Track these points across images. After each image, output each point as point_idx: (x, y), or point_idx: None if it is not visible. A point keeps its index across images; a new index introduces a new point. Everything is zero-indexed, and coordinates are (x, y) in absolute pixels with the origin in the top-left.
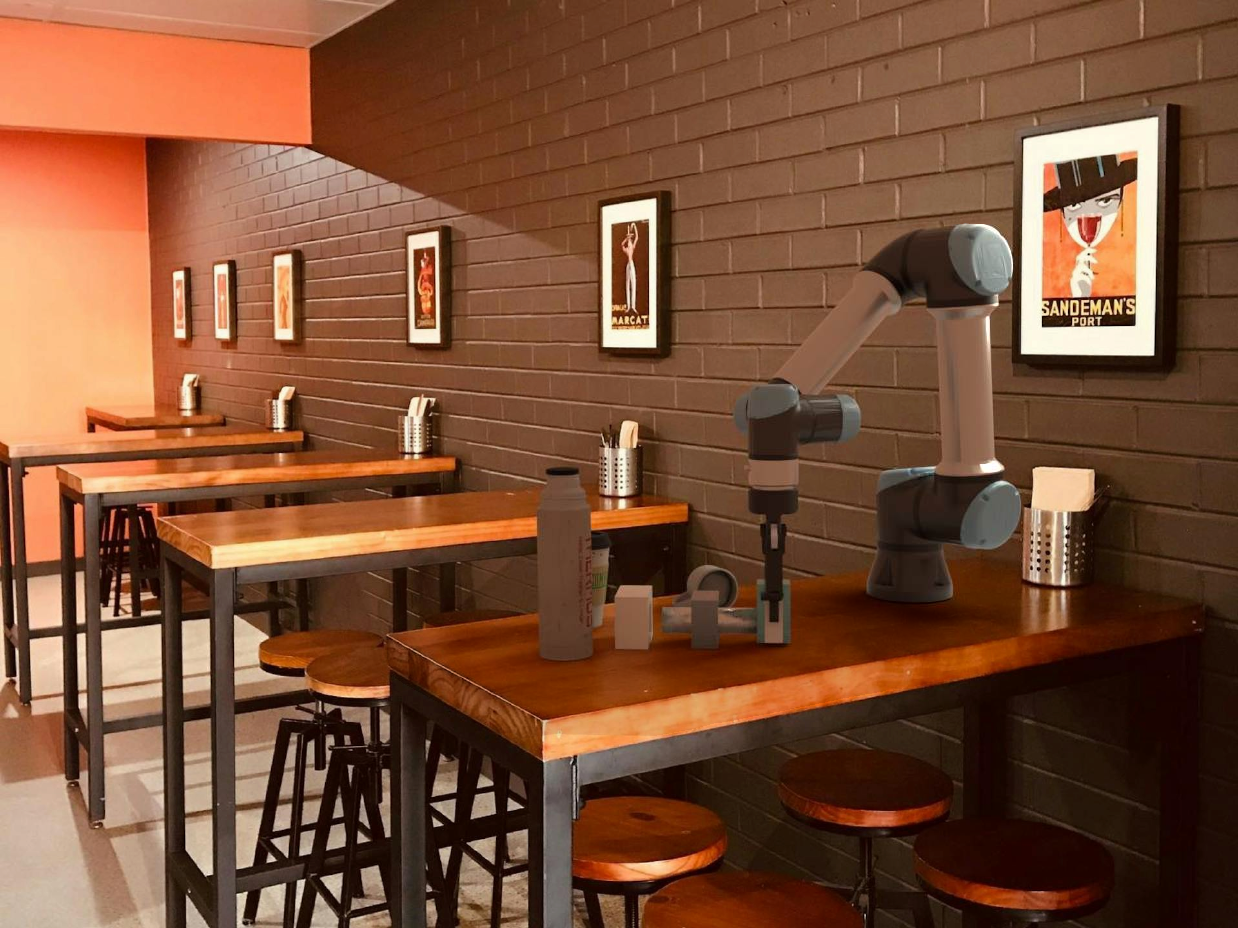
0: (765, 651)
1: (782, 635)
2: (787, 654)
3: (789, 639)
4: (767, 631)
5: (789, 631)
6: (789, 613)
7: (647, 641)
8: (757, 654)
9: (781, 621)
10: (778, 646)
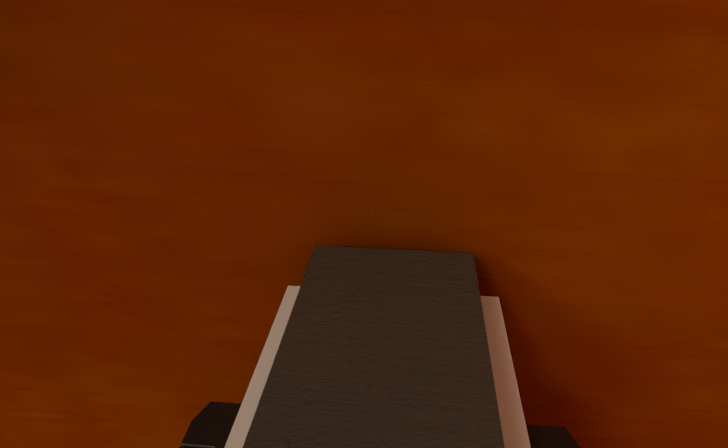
0: (555, 355)
1: (504, 328)
2: (644, 267)
3: (474, 270)
4: None
5: (478, 302)
6: (495, 403)
7: None
8: (612, 389)
9: (518, 405)
10: None
